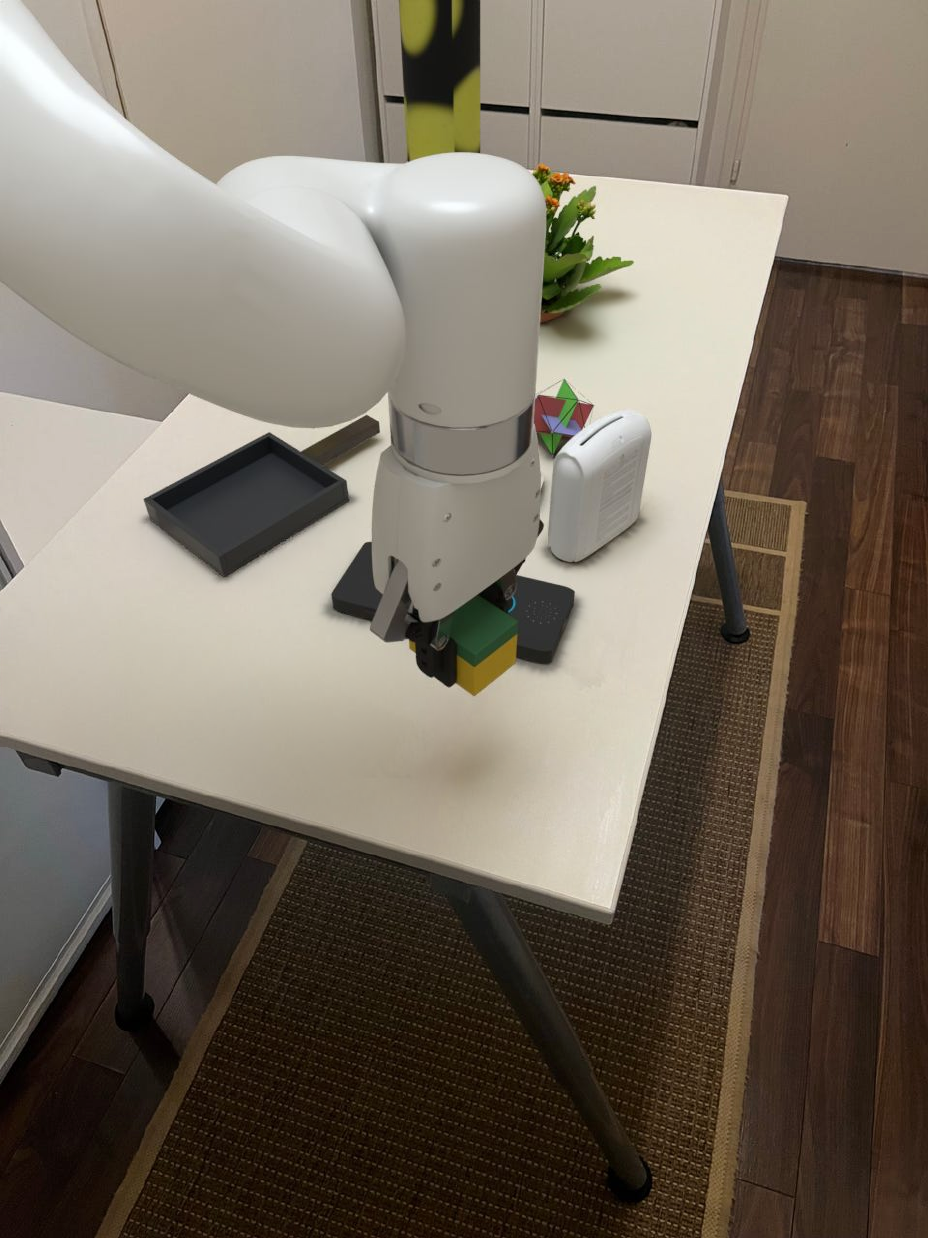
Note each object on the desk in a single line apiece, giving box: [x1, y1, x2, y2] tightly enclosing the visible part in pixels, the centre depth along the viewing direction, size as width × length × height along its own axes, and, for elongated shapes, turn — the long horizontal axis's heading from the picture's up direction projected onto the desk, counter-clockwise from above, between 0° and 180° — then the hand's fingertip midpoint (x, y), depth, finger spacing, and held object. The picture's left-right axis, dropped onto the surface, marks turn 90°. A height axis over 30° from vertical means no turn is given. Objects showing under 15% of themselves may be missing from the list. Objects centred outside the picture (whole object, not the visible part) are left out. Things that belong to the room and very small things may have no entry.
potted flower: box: [531, 163, 635, 323], centre depth 113 cm, size 25×24×18 cm
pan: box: [143, 431, 350, 578], centre depth 90 cm, size 15×12×2 cm
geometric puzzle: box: [534, 377, 595, 457], centre depth 96 cm, size 7×7×8 cm
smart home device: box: [330, 541, 576, 665], centre depth 81 cm, size 8×2×20 cm
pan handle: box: [300, 414, 381, 466], centre depth 96 cm, size 9×2×2 cm, turn 136°
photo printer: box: [547, 409, 652, 563], centre depth 83 cm, size 10×4×12 cm, turn 134°
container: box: [398, 0, 481, 163], centre depth 126 cm, size 11×11×30 cm
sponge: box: [408, 594, 518, 697], centre depth 60 cm, size 6×4×4 cm, turn 46°
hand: (461, 652), depth 61 cm, fingers closed on sponge, 4 cm apart
